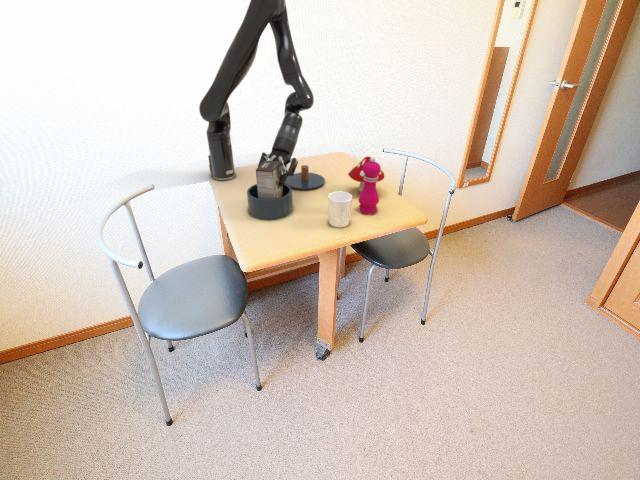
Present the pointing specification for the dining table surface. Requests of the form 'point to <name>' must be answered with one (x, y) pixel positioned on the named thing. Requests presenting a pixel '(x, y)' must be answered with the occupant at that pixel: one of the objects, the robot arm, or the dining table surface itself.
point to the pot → (269, 204)
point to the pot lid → (305, 179)
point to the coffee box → (269, 180)
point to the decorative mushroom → (362, 173)
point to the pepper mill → (369, 188)
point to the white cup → (339, 208)
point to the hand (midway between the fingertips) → (270, 183)
